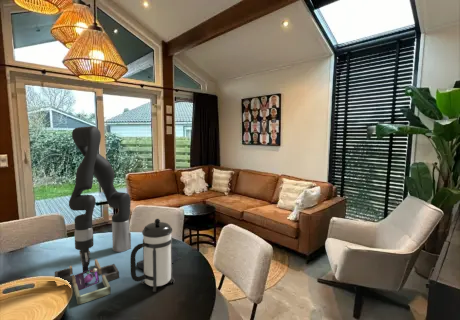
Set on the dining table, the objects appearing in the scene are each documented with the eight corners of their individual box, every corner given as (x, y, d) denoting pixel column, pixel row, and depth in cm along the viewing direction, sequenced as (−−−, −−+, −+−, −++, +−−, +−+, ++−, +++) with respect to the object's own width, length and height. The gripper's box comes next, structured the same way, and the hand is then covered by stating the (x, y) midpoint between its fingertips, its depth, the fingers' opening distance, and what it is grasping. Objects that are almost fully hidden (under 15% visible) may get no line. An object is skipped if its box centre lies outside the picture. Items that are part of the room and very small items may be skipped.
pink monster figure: (75, 275, 111) (97, 267, 117) (71, 274, 114) (93, 267, 121) (78, 291, 110) (100, 282, 117) (74, 290, 113) (95, 281, 120)
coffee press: (145, 273, 125) (144, 213, 122) (178, 274, 124) (178, 213, 121) (130, 296, 108) (128, 226, 104) (168, 297, 107) (168, 227, 104)
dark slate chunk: (131, 267, 132) (131, 258, 131) (165, 251, 150) (165, 243, 149) (151, 276, 123) (151, 267, 122) (184, 258, 141) (184, 250, 141)
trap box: (109, 261, 136) (109, 255, 136) (125, 288, 112) (125, 282, 112) (54, 276, 121) (54, 269, 121) (59, 311, 98) (59, 303, 98)
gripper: (95, 240, 117) (97, 276, 119) (90, 231, 128) (92, 264, 129) (76, 244, 113) (78, 281, 114) (73, 234, 123) (74, 269, 125)
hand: (85, 272), depth 122 cm, fingers closed
